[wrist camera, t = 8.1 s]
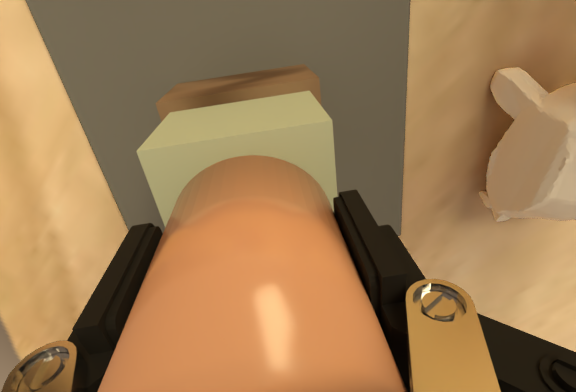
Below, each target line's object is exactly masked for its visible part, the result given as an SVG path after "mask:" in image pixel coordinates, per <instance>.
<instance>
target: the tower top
mask: <svg viewBox="0 0 576 392" xmlns="http://www.w3.org/2000/svg"><path fill="white" fill-rule="evenodd" d="M136 152H137V155H138V157H139V160H140V163H141V165H142V168H143V170H144V173H145V176H146V178H147V181H148V184H149V186H150V189H151V191H152V194H153V197H154V199H155V202H156V205H157V207H158V210H159V212H160V215H161V218H162V220H163V223H164V226H165V227H166V225H167V222H168V220H169V218H170V215H171V213H172V210H173V208H174V206H175V203H176V201H177V198H178V196H179V195H180V193H181V191H182V190H183V188H184V187H185V186H186V185H187V183H188V182H189V181H190V180H191V179H192V178H193V177H194V176H195V175H197V174H198V173H199V172H201V171H202V170H204V169H205V168H207V167H209V166H211V165H213V164H215V163H217V162H220V161H222V160H225V159H229V158H233V157H238V156H248V155H259V156H268V157H274V158H278V159H281V160H285V161H287V162H289V163H292V164H294V165H296V166H298V167H299V168H301V169H303V170H304V171H306V172H307V173H308V174H309V175H311V176H312V177H313V178H314V179H315V180H316V181H317V182H318V183H319V184H320V186H321V187H322V189H323V190H324V191H325V193H326V195H327V197H328V199H329V202H330V204H331V206H332V209H333V211H334V204H333V198H334V197H338V196H337V182H336V167H335V152H334V138H333V123H332V119H331V118H330V117H329V115H328V114H327V113H326V111H325V110H324V109H323V107H322V106H321V105H320V104H319V102H318V101H317V100H316V98H315V97H314V96H313V95H312V93H311V92H310V91H303V92H297V93H291V94H284V95H278V96H271V97H265V98H259V99H252V100H246V101H240V102H233V103H227V104H221V105H214V106H208V107H202V108H195V109H189V110H182V111H176V112H170V113H169V114H168V115H167V116H166V117H165V119H164V120H163V121H162V122H161V123H160V124H159V126H158V127H157V128H156V129H155V130H154V131H153V133H152V134H151V135H150V136H149V137H148V138H147V139H146V141H145V142H144V143H143V144H142V145H141V146H140V148H139V149H138V150H137V151H136Z"/></svg>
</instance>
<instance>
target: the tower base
mask: <svg viewBox="0 0 576 392" xmlns="http://www.w3.org/2000/svg"><path fill="white" fill-rule="evenodd" d="M303 91H310V92H311V93H312V95H313V96H314V97H315V98H316V100H317V101H318V102H319V104H320V105H321V94H320V82H319V77H318V76H317V75H316V74H315V73H314V72H312V71H311V70H310V69H309V68H308V67H307V66H306V65H305V64H300V65H294V66H288V67H281V68H275V69H268V70H262V71H255V72H249V73H243V74H236V75H230V76H223V77H217V78H210V79H204V80H198V81H191V82H185V83H178V84H176V85H175V86H174V87H173V88H172V89H171V90H170V91H169V92H168V93H166V94H165V95H164V96H163V97H162V98H161V99H160V100H159V101H157V102H156V103H155V104H156V107H157V110H158V113H159V116H160V119H161V122H162V121H163V120H164V119H165V117H166V116H167V115H168V114H169V113H170V112H176V111H182V110H189V109H195V108H202V107H208V106H214V105H221V104H227V103H233V102H240V101H246V100H252V99H259V98H265V97H271V96H278V95H284V94H291V93H297V92H303Z"/></svg>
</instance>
